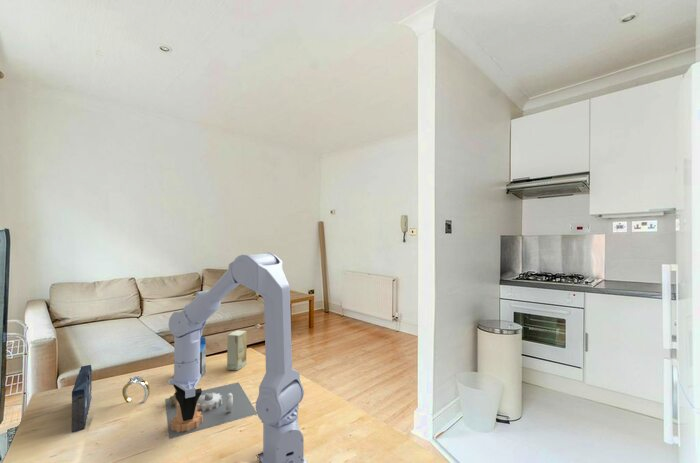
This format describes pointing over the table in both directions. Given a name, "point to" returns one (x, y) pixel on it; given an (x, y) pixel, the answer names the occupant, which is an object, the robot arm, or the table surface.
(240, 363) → the skincare box
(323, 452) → the table surface
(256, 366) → the table surface
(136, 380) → the ring
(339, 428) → the table surface
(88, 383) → the vhs cassette tape
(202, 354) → the label tape box
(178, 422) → the planet gear
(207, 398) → the carrier board
